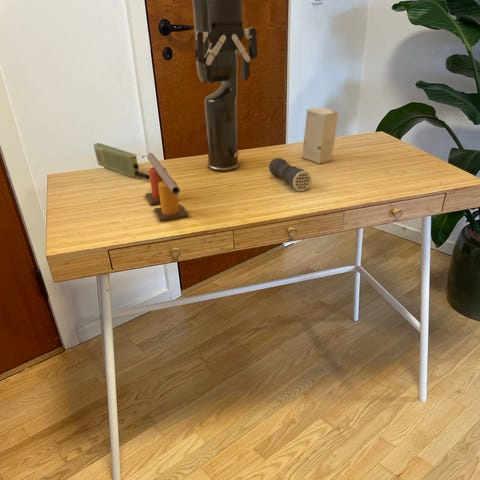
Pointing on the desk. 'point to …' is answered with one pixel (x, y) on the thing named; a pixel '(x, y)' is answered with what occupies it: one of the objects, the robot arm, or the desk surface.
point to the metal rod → (163, 174)
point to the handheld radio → (118, 160)
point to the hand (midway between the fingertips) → (227, 81)
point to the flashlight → (290, 174)
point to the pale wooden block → (319, 134)
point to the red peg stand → (154, 187)
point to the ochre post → (169, 205)
